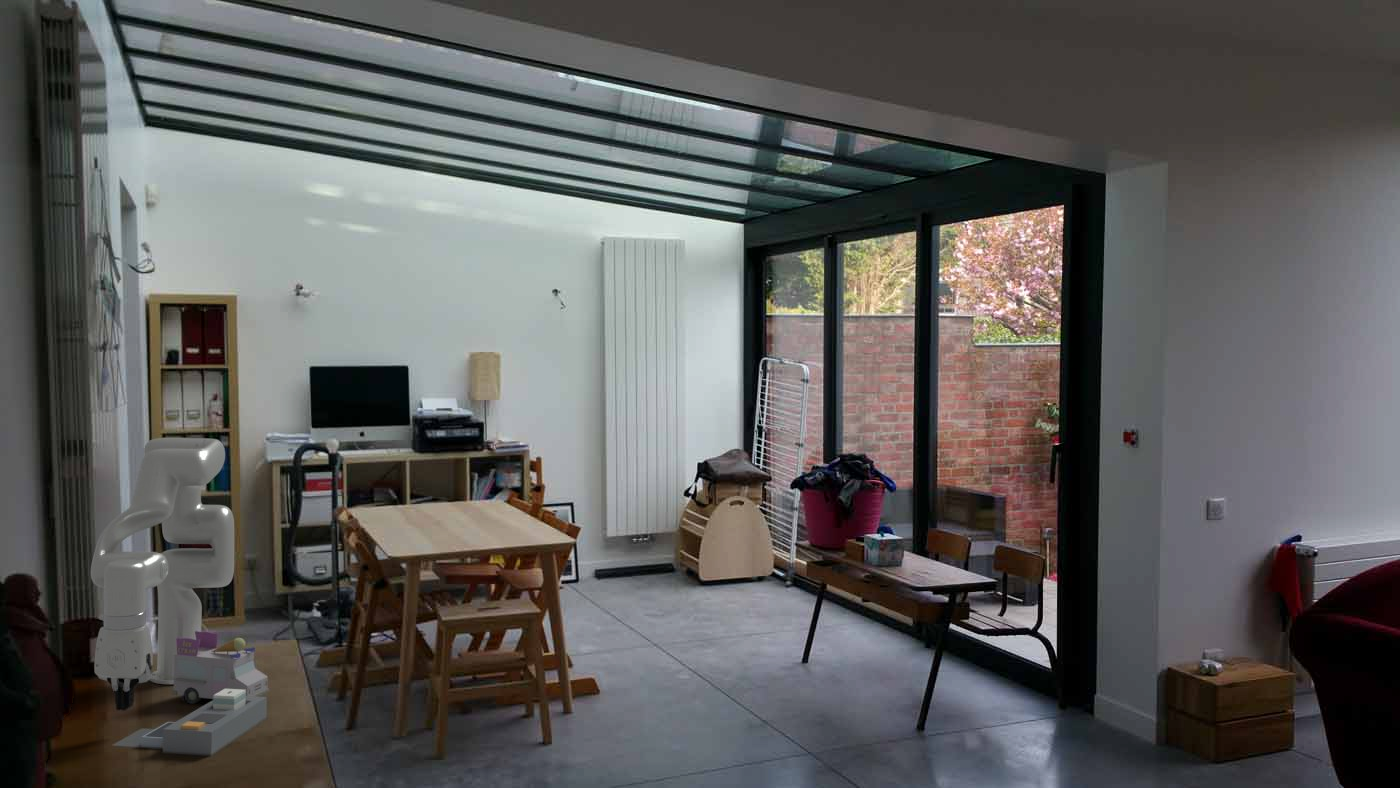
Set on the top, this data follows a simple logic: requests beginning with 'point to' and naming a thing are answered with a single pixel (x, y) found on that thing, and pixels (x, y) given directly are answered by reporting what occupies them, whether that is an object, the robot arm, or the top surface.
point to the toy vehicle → (215, 668)
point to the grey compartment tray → (212, 727)
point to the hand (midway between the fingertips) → (124, 707)
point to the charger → (229, 699)
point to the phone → (154, 737)
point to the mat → (134, 739)
